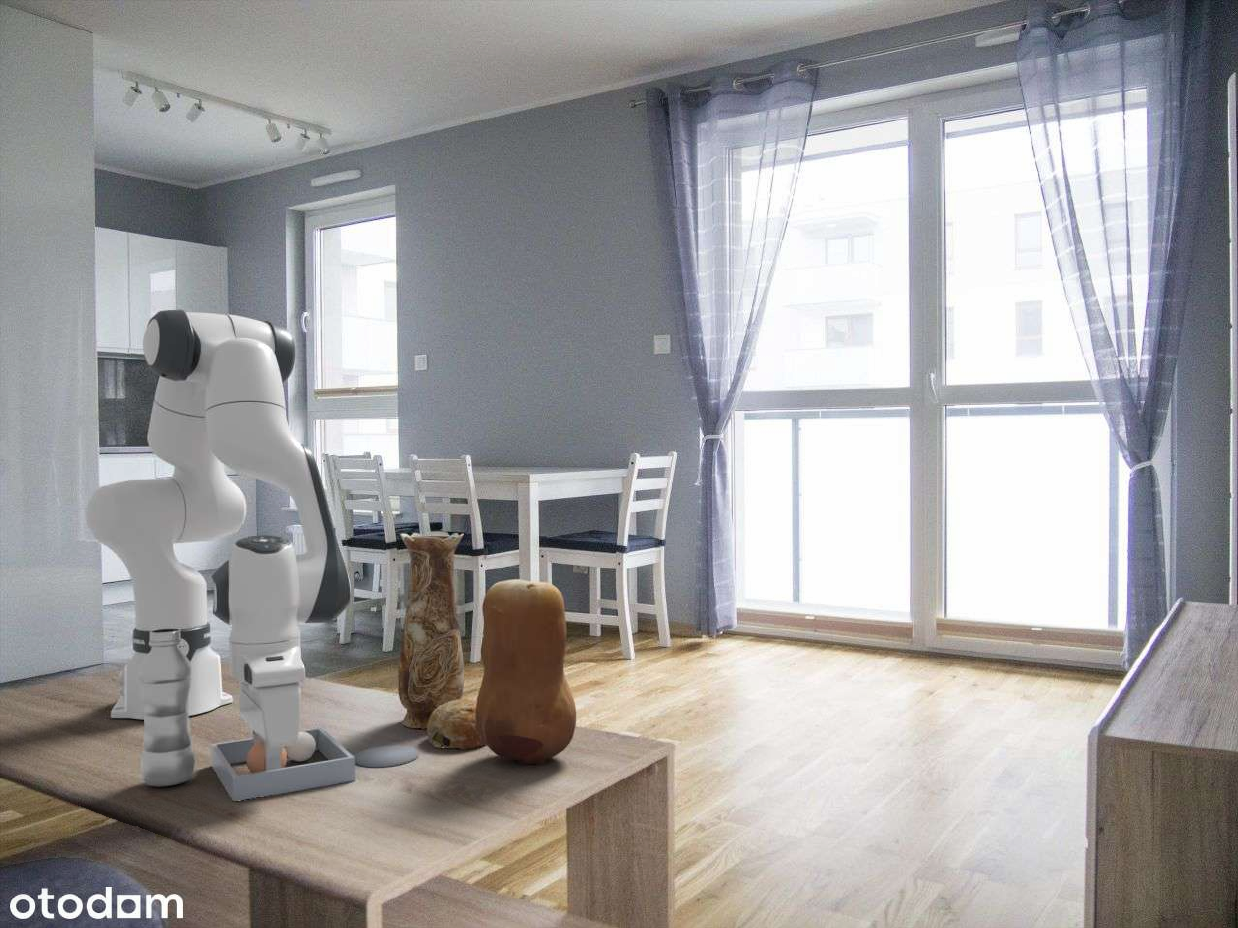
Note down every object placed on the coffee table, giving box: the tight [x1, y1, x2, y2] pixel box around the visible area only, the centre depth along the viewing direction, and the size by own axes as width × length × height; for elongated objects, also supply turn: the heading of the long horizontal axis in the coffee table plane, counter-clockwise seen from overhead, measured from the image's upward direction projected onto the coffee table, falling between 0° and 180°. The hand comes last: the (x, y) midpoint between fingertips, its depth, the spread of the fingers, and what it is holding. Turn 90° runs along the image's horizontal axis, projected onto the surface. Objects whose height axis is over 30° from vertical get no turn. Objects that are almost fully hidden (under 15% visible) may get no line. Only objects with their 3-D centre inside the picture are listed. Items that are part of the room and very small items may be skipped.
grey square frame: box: [210, 727, 356, 802], centre depth 132 cm, size 17×15×3 cm
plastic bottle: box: [138, 628, 196, 787], centre depth 129 cm, size 6×7×20 cm
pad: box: [353, 745, 420, 768], centre depth 139 cm, size 9×9×1 cm
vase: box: [397, 530, 465, 730], centre depth 157 cm, size 10×11×30 cm
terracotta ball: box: [246, 741, 288, 774], centre depth 131 cm, size 5×5×5 cm
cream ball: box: [286, 732, 316, 763], centre depth 138 cm, size 4×4×4 cm
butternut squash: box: [475, 578, 577, 766], centre depth 137 cm, size 14×13×25 cm
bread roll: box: [426, 698, 487, 750], centre depth 147 cm, size 10×10×8 cm
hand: (267, 764), depth 131 cm, fingers closed on terracotta ball, 5 cm apart
